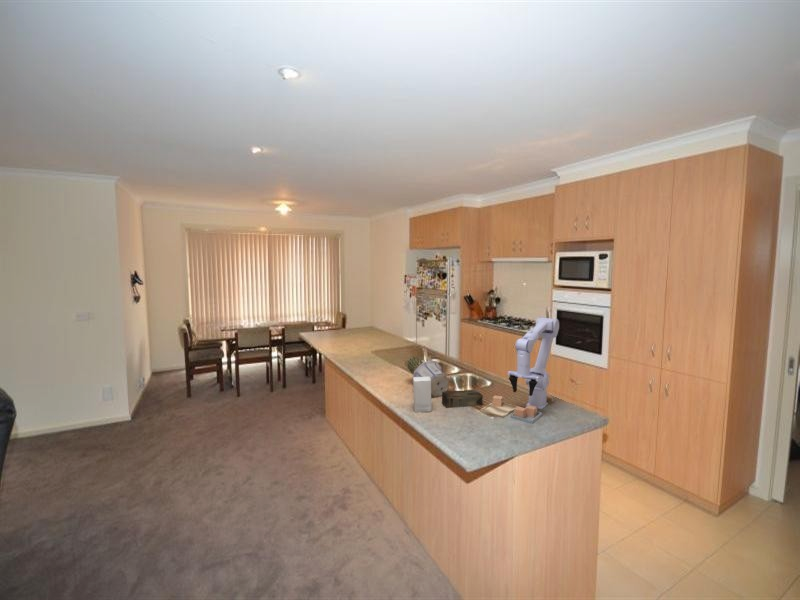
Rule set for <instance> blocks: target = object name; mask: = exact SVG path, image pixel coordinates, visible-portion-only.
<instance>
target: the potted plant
mask: <svg viewBox="0 0 800 600" xmlns="http://www.w3.org/2000/svg"><path fill="white" fill-rule="evenodd" d="M406 366H407V368H408V370H409V372H411V373H412V375H413V376H412V378H413V377H430V379H431V398H438V397H442V392H448V388H449V385H450V380H449V378H448V377H447V376H446V374H445V373H444V372H443V371H442V370H443V368H442V366H441V365H440V364H439V362H437V361H436V360H428V361H422V359H421V358H419V357H415V356H412V357H410V358H409V359H408V360H407V363H406Z"/></svg>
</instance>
